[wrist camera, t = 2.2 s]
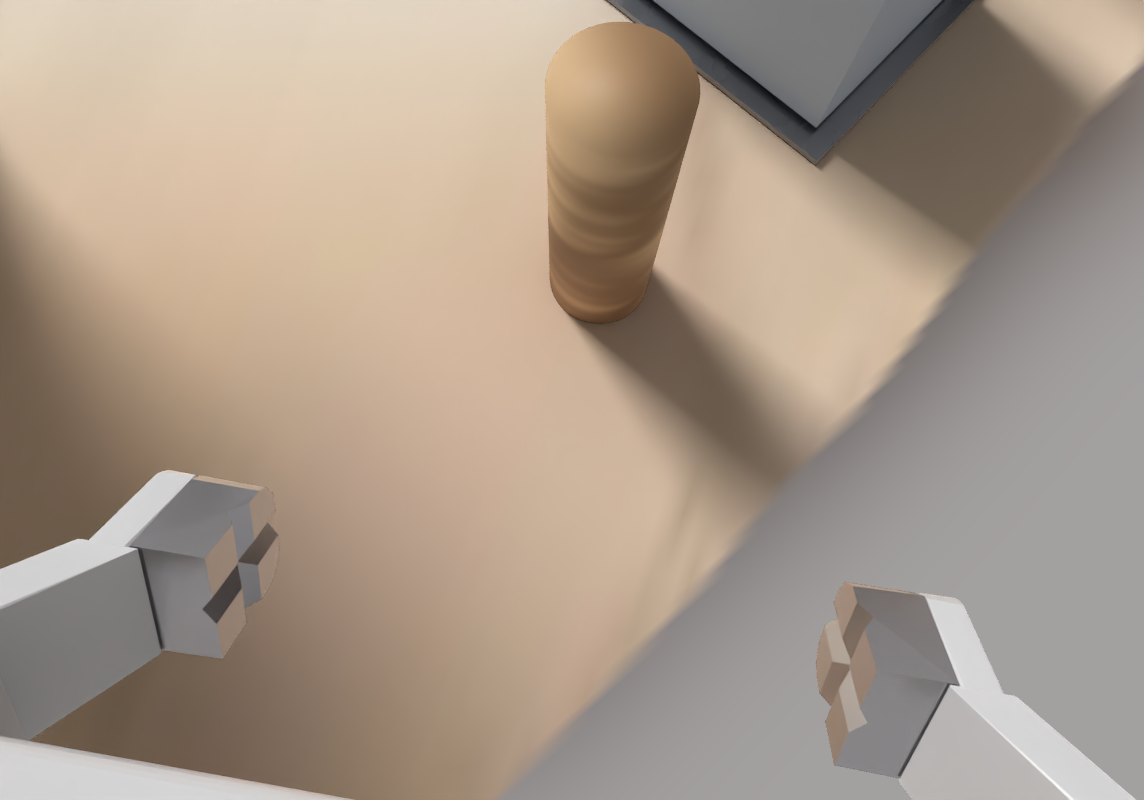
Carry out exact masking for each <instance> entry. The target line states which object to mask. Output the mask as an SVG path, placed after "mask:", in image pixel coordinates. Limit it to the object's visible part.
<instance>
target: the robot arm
mask: <svg viewBox="0 0 1144 800" xmlns="http://www.w3.org/2000/svg"><path fill="white" fill-rule="evenodd" d="M275 511H276V510H275V504H274V497H273V492H272V491H270V490H269V489H268V488H266V487H261V486H256V485H251V484H245V483H240V482H235V481H229V480H224V479H219V478H213V477H208V476H202V475H201V476H198V475H194V474H188V473H183V472H178V471H172V470H165V471H162V472H159V473H157V474H156V475H155V476H154V477H153V478H152V479H151V480H150V481H149V482H148V483H146V484H145V485H144V486H143V487H142V488H141V489H140V490H139V491H138V492H137V493H136V494H135V495H134V496H133V497H132V498H131V499H130V500H129V501H128V502H127V503H126V504H125V505H124V506H123V507H122V508H121V509H120V510H119V511H118V512H117V513H116V514H115V515H114V516H113V517H112V518H111V519H110V520H109V521H108V522H107V523H106V524H105V525H104V526H103V527H102V528H101V529H100V530H98V531H97V532H96V533H95V534H94V535H93V536H92V537H91V538H90V539H89V540H83V539H76V540H73V541H70V542H68V543H65V544H63V545H60V546H58V547H55V548H53V549H50V550H48V551H45V552H42V553H40V554H37V555H35V556H32V557H30V558H27V559H25V560H22V561H19V562H17V563H14V564H12V565H9V566H7V567H4V568H2V569H0V800H353V799H348V798H342V797H337V796H331V795H326V794H320V793H315V792H309V791H304V790H298V789H293V788H287V787H281V786H276V785H270V784H265V783H259V782H254V781H248V780H243V779H237V778H232V777H226V776H221V775H215V774H210V773H204V772H198V771H193V770H187V769H182V768H176V767H171V766H165V765H160V764H154V763H149V762H143V761H138V760H132V759H127V758H121V757H115V756H110V755H104V754H99V753H93V752H88V751H82V750H77V749H71V748H66V747H60V746H55V745H49V744H43V743H38V742H32V741H29V740H30V739H32V738H33V737H35V736H36V735H38V734H39V733H41V732H43V731H44V730H46V729H47V728H49V727H50V726H52V725H53V724H55V723H56V722H58V721H59V720H61V719H62V718H64V717H65V716H67V715H68V714H70V713H72V712H73V711H75V710H76V709H78V708H79V707H81V706H82V705H84V704H85V703H87V702H88V701H90V700H91V699H93V698H94V697H96V696H97V695H99V694H100V693H102V692H104V691H105V690H107V689H108V688H110V687H111V686H113V685H114V684H116V683H117V682H119V681H120V680H122V679H123V678H125V677H126V676H128V675H129V674H131V673H132V672H134V671H136V670H137V669H139V668H140V667H142V666H143V665H145V664H146V663H148V662H149V661H151V660H152V659H154V658H155V657H157V656H158V655H160V654H161V650H164V651H171V652H178V653H185V654H192V655H199V656H206V657H213V658H220V659H223V658H224V656H225V655H226V653H227V651H228V650H229V648H230V647H231V645H232V644H233V642H234V641H235V639H236V638H237V636H238V635H239V633H240V632H241V630H242V629H243V627H244V626H245V624H246V614H245V608H246V607H248V606H250V605H251V604H253V603H255V602H257V601H259V600H261V599H262V598H263V596H264V594H265V593H266V591H267V590H268V588H269V586H270V585H271V583H272V580H273V577H274V574H275V571H276V568H277V565H278V557H279V539H278V534H277V533H276V532H275V531H274V530H273V528H272V527H271V526H270V525H269V524H268V521H269V519H270V518H271V516H272V515H273V514H274V512H275ZM834 606H835V610H836V614H837V618H836V619H835V620H833V621H831V622H830V623H828V624H827V625H825V626H824V629H823V632H822V635H821V638H820V641H819V645H818V652H817V660H816V670H817V681H818V686H819V692H820V694H821V696H822V697H823V698H824V699H825V700H826V701H827V702H828V703H829V704H830V706H831V709H830V711H829V714H828V716H827V718H826V721H825V723H826V728H827V733H828V737H829V742H830V747H831V752H832V757H833V762H834V765H836V766H841V767H846V768H851V769H856V770H860V771H866V772H871V773H876V774H880V775H886V776H890V777H895V778H900V779H899V783H900V784H901V785H902V787H903V788H904V789H905V791H906V792H907V793H908V794H909V796H910V797H911V799H912V800H1135V799H1134V798H1133V797H1132V796H1131V795H1130V794H1129V793H1127V792H1126V791H1125V790H1124V789H1123V788H1122V787H1120V786H1119V785H1118V784H1117V783H1116V782H1115V781H1114V780H1112V779H1111V778H1110V777H1109V776H1108V775H1107V774H1105V773H1104V772H1103V771H1102V770H1101V769H1100V768H1098V767H1097V766H1096V765H1095V764H1094V763H1093V762H1092V761H1090V760H1089V759H1088V758H1087V757H1086V756H1084V754H1082V753H1081V752H1080V751H1079V750H1078V749H1077V748H1075V747H1074V746H1073V745H1072V744H1071V743H1070V742H1068V741H1067V740H1066V739H1065V738H1064V737H1063V736H1061V735H1060V734H1059V733H1058V732H1057V731H1056V730H1055V729H1053V728H1052V727H1051V726H1050V725H1049V724H1048V723H1046V722H1045V721H1044V720H1043V719H1042V718H1041V717H1039V716H1038V715H1037V714H1036V713H1035V712H1034V711H1033V710H1031V709H1030V708H1029V707H1028V706H1027V705H1026V704H1024V703H1023V702H1022V701H1021V700H1020V699H1018V698H1017V697H1016V696H1011V695H1005V694H1004V692H1003V690H1002V688H1001V686H1000V683H999V681H998V679H997V677H996V675H995V672H994V670H993V668H992V666H991V664H990V662H989V659H988V657H987V655H986V653H985V651H984V649H983V646H982V644H981V642H980V640H979V638H978V636H977V633H976V631H975V629H974V627H973V625H972V623H971V621H970V618H969V616H968V614H967V612H966V610H965V607H964V605H963V604H962V603H961V602H960V601H959V600H958V599H957V598H953V597H946V596H938V595H931V594H925V593H918V594H916V593H912V592H906V591H900V590H893V589H886V588H881V587H874V586H868V585H861V584H854V583H849V582H845V583H844V584H843V585H842V586H841V588H840V589H839V591H838V593H837V596H836V598H835V601H834Z"/></svg>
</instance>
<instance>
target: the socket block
mask: <svg viewBox="0 0 1144 800" xmlns="http://www.w3.org/2000/svg"><path fill="white" fill-rule="evenodd" d="M653 1H654V2H656V3H657V4H658V5H659V6H661V7H662V8H663V9H665V10H666V11H667V12H668V13H670V14H671V15H672V16H674V17H675V18H676V19H677V20H679V21H680V22H681V23H683V24H684V25H685V26H686V27H688V28H689V29H690V30H691V31H693V32H694V33H695V34H697V35H698V36H699V37H700V38H702V39H703V40H704V41H706V42H707V43H708V44H709V45H711V46H712V47H713V48H715V49H716V50H717V51H718V52H720V53H721V54H722V55H724V56H725V57H726V58H727V59H729V60H730V61H731V62H732V63H734V64H735V65H736V66H738V67H739V68H740V69H741V70H743V71H744V72H745V73H747V74H748V75H749V76H750V77H752V78H753V79H754V80H756V81H757V82H758V83H759V84H761V85H762V86H763V87H765V88H766V89H767V90H768V91H770V92H771V93H772V94H773V95H775V96H776V97H777V98H779V99H780V100H781V101H782V102H784V103H785V104H786V105H788V106H789V107H790V108H791V109H793V110H794V111H795V112H797V113H798V114H799V115H800V116H802V117H803V118H804V119H805V120H807V121H808V122H809V123H811V124H812V125H813V126H814V127H817V126H818V125H819V124H820V123H821V122H822V121H823V120H824V119H825V118H826V117H827V116H828V115H829V114H830V113H831V112H832V111H833V110H834V109H835V108H836V107H837V106H838V105H839V104H840V103H841V102H842V101H843V100H844V99H845V98H846V97H847V96H848V95H849V94H850V93H851V92H852V91H853V90H854V89H855V88H856V87H857V86H858V85H859V84H860V83H861V82H862V81H863V80H864V79H865V78H866V77H867V76H868V75H869V74H870V73H871V72H872V71H873V70H874V69H875V68H876V67H877V66H878V65H879V64H880V63H881V62H882V61H883V60H884V59H885V58H886V57H887V55H888V54H889V53H890V52H891V51H892V50H893V49H894V48H895V47H896V46H897V45H898V44H899V43H900V42H901V41H902V40H903V39H904V38H905V37H906V36H907V35H908V34H909V33H910V32H911V31H912V30H913V29H914V28H915V27H916V26H917V25H918V24H919V23H920V22H921V21H922V20H923V19H924V18H925V17H926V16H927V15H928V14H929V13H930V12H931V11H932V10H933V9H934V8H935V7H936V6H937V5H938V4H939V3H940V2H941V1H942V0H653Z"/></svg>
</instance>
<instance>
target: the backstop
mask: <svg viewBox="0 0 1144 800" xmlns="http://www.w3.org/2000/svg"><path fill="white" fill-rule="evenodd" d="M607 1H608V2H610V3H611V4H612V5H613V6H615V7H616V8H617V9H618V10H620V11H621V12H622V13H624V14H625V15H626V16H627V17H629V18H630V19H631V20H632V21H634V22H635V23H637V24H641V25H645V26H649V27H651V28H654V29H656V30H658V31H660V32H662V33H664V34H666V35H667V36H669V37H670V38H672V39H673V40H674V41H676V42H677V43H678V44H679V45H680V46H681V47H682V48H683V49H684V50H685V51H686V53H687V54H688V56H689V57H690V58H691V60H692V62H693V64H694V66H695V68H696V71H697V72H698V73H699V74H701V75H702V76H703V77H704V78H706V79H707V80H708V81H709V82H711V83H712V84H713V85H715V86H716V87H717V88H718V89H720V90H721V91H722V92H723V93H725V94H726V95H727V96H728V97H730V98H731V99H732V100H733V101H735V102H736V103H737V104H739V105H740V106H741V107H742V108H744V109H745V110H746V111H747V112H749V113H750V114H751V115H752V116H754V117H755V118H756V119H758V120H759V121H760V122H761V123H763V124H764V125H765V126H766V127H768V128H769V129H770V130H771V131H773V132H774V133H775V134H776V135H778V136H779V137H780V138H782V139H783V140H784V141H785V142H787V143H788V144H789V145H790V146H792V147H793V148H794V149H795V150H797V151H798V152H799V153H800V154H802V155H803V156H804V157H806V158H807V159H808V160H809V161H811V162H812V163H813V164H814V165H816V164H817V163H818V162H819V161H820V160H821V159H822V158H823V157H824V156H825V155H826V154H827V153H828V152H829V151H830V150H831V148H832V147H833V146H834V145H835V144H836V143H837V142H838V141H839V140H840V139H841V138H842V137H843V136H844V135H845V134H846V133H847V132H848V131H849V130H850V129H851V128H852V127H853V126H854V125H855V124H856V123H857V122H858V121H859V120H860V119H861V118H862V117H863V116H864V115H865V114H866V112H867V111H868V110H869V109H870V108H871V107H872V106H873V105H874V104H875V103H876V102H877V101H878V100H879V99H880V98H881V97H882V96H883V95H884V94H885V93H886V92H887V91H888V90H889V89H890V88H891V87H892V86H893V85H894V84H895V83H896V82H897V81H898V80H899V79H900V78H901V76H902V75H903V74H904V73H905V72H906V71H907V70H908V69H909V68H910V67H911V66H912V65H913V64H914V63H915V62H916V61H917V60H918V59H919V58H920V57H921V56H922V55H923V54H924V53H925V52H926V51H927V50H928V49H929V48H930V47H931V46H932V45H933V44H934V43H935V41H936V40H937V39H938V38H939V37H940V36H941V35H942V34H943V33H944V32H945V31H946V30H947V29H948V28H949V27H950V26H951V25H952V24H953V23H954V22H955V21H956V20H957V19H958V18H959V17H960V16H961V15H962V14H963V13H964V12H965V11H966V10H967V9H968V8H969V7H970V5H971V4H972V3H973V2H974V1H975V0H942V1H941V2H940V3H939V4H938V5H937V6H936V7H935V8H934V9H933V10H932V11H931V12H930V13H929V14H928V15H927V16H926V17H925V18H924V19H923V20H922V21H921V22H920V23H919V24H918V25H917V26H916V27H915V28H914V29H913V30H912V31H911V32H910V33H909V34H908V35H907V36H906V37H905V38H904V39H903V40H902V41H901V42H900V43H899V44H898V45H897V46H896V47H895V48H894V49H893V50H892V51H891V52H890V53H889V54H888V55H887V57H886V58H885V59H884V60H883V61H882V62H881V63H880V64H879V65H878V66H877V67H876V68H875V69H874V70H873V71H872V72H871V73H870V74H869V75H868V76H867V77H866V78H865V79H864V80H863V81H862V82H861V83H860V84H859V85H858V86H857V87H856V88H855V89H854V90H853V91H852V92H851V93H850V94H849V95H848V96H847V97H846V98H845V99H844V100H843V101H842V102H841V103H840V104H839V105H838V106H837V107H836V108H835V109H834V110H833V111H832V112H831V113H830V114H829V115H828V116H827V117H826V118H825V119H824V120H823V121H822V122H821V123H820V124H819V125H818V126H817V127H814V126H813V125H812V124H811V123H809V122H808V121H807V120H805V119H804V118H803V117H802V116H800V115H799V114H798V113H797V112H795V111H794V110H793V109H791V108H790V107H789V106H788V105H786V104H785V103H784V102H782V101H781V100H780V99H779V98H777V97H776V96H775V95H773V94H772V93H771V92H770V91H768V90H767V89H766V88H765V87H763V86H762V85H761V84H759V83H758V82H757V81H756V80H754V79H753V78H752V77H750V76H749V75H748V74H747V73H745V72H744V71H743V70H741V69H740V68H739V67H738V66H736V65H735V64H734V63H732V62H731V61H730V60H729V59H727V58H726V57H725V56H724V55H722V54H721V53H720V52H718V51H717V50H716V49H715V48H713V47H712V46H711V45H709V44H708V43H707V42H706V41H704V40H703V39H702V38H700V37H699V36H698V35H697V34H695V33H694V32H693V31H691V30H690V29H689V28H688V27H686V26H685V25H684V24H683V23H681V22H680V21H679V20H677V19H676V18H675V17H674V16H672V15H671V14H670V13H668V12H667V11H666V10H665V9H663V8H662V7H661V6H659V5H658V4H657V3H656V2H654V1H653V0H607Z"/></svg>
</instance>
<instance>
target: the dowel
mask: <svg viewBox="0 0 1144 800" xmlns="http://www.w3.org/2000/svg"><path fill="white" fill-rule="evenodd" d="M699 99H700V83H699V77H698V74H697V71H696V68H695V66H694V64H693V62H692V60H691V58H690V57H689V56H688V54H687V53H686V51H685V50H684V49H683V48H682V47H681V46H680V45H679V44H678V43H677V42H676V41H674V40H673V39H672V38H670V37H669V36H667V35H666V34H664V33H662V32H660V31H658V30H656V29H654V28H651V27H649V26H645V25H641V24H637V23H630V22H611V23H604V24H599V25H596V26H593V27H589V28H587V29H585V30H583V31H581V32H579V33H577V34H576V35H574V36H573V37H571V38H570V39H569V40H568V41H566V42H565V43H564V44H563V45H562V46H561V47H560V48H559V50H558V51H557V52H556V54H555V55H554V57H553V59H552V61H551V63H550V65H549V68H548V71H547V75H546V80H545V104H546V144H547V184H548V224H549V264H550V285H551V289H552V292H553V294H554V297H555V299H556V300H557V302H558V303H559V304H560V306H561V307H562V308H563V309H564V310H565V311H566V312H567V313H569V314H570V315H572V316H573V317H575V318H577V319H579V320H582V321H585V322H589V323H599V324H602V323H610V322H614V321H617V320H620V319H622V318H624V317H626V316H627V315H629V314H630V313H631V312H632V311H634V310H635V309H636V308H637V306H638V305H639V304H640V302H641V301H642V299H643V297H644V295H645V292H646V289H647V285H648V282H649V278H650V274H651V271H652V267H653V264H654V260H655V257H656V253H657V250H658V246H659V243H660V239H661V236H662V232H663V228H664V225H665V221H666V218H667V214H668V211H669V207H670V204H671V200H672V197H673V193H674V189H675V186H676V182H677V179H678V175H679V172H680V168H681V165H682V161H683V158H684V154H685V150H686V147H687V143H688V140H689V136H690V133H691V129H692V126H693V122H694V119H695V115H696V111H697V108H698V104H699Z"/></svg>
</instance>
